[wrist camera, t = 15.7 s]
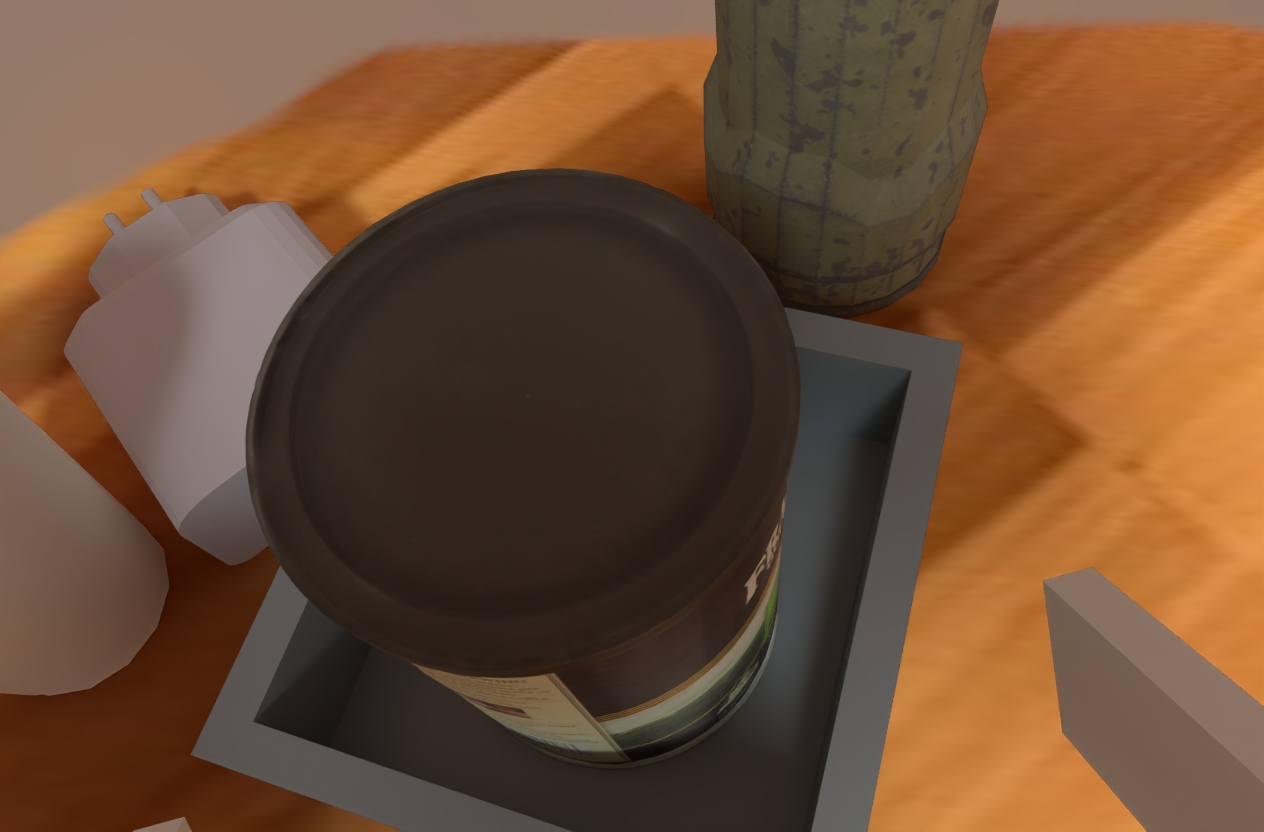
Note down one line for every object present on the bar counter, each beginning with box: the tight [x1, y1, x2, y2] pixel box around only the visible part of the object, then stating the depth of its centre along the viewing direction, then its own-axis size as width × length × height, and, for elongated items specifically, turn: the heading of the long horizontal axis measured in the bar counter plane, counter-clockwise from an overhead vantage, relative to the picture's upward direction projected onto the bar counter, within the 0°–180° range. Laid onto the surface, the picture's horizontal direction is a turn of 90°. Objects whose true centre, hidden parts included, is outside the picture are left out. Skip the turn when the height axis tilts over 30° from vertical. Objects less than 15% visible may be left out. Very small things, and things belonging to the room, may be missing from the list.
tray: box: [191, 307, 963, 832], centre depth 28 cm, size 16×16×6 cm
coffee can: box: [245, 168, 801, 769], centre depth 24 cm, size 10×10×14 cm
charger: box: [64, 189, 334, 565], centre depth 35 cm, size 5×9×15 cm
